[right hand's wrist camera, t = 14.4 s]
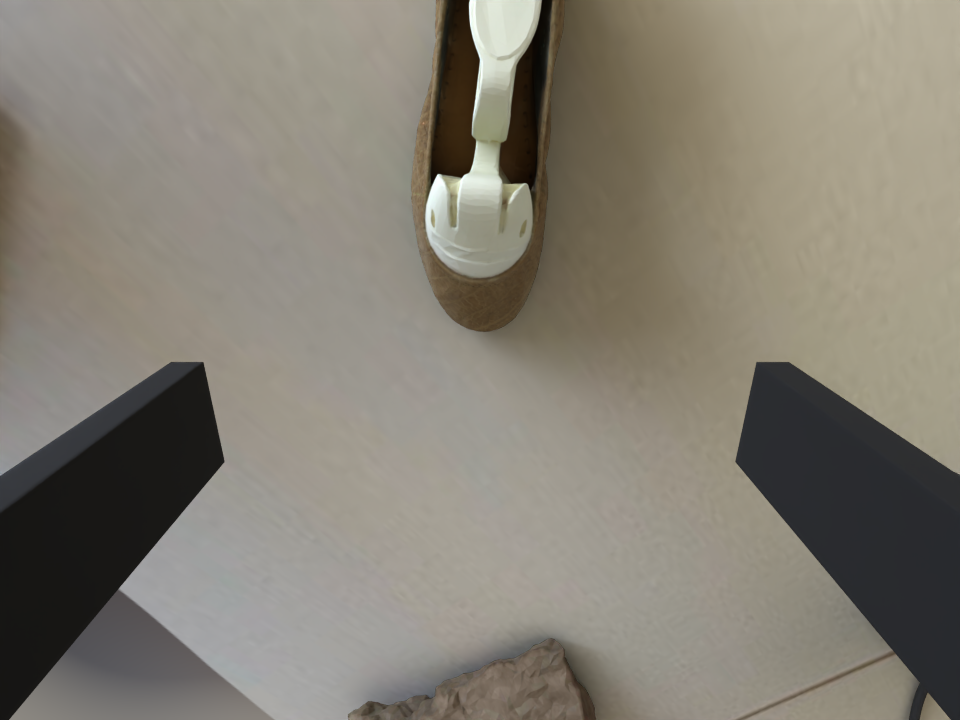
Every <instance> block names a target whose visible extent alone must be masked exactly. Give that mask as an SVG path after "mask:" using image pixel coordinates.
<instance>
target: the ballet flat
mask: <svg viewBox="0 0 960 720" xmlns="http://www.w3.org/2000/svg"><path fill="white" fill-rule="evenodd" d="M564 10H565V0H436V22H435V29H436V43H435V49H434V54H433V73H432V79H431V82H430V86H429V90H428V95H427V97H426V100H425V103H424V106H423V109H422V113H421V118H420V121H419V125H418V129H417V139H416V147H415V155H414V161H413V173H412V183H411V190H412V197H411V200H412V206H413V218H414V223H415V229H416V235H417V242H418V247H419V251H420V255H421V258H422V262H423V265H424V268H425V271H426V274H427V277H428V279H429V282H430V284H431V286H432V289H433V292H434V294H435V296H436V298H437V299H438V301H439V303H440V304H441V306H442V307H443V309H444V310H445V311H446V313H447V314H448V315H449V316H450V317H451V318H452V319H453V320H454V321H455V322H457V323H458V324H460V325H462V326H464V327H466V328H468V329H471V330H475V331H483V332H486V331H493V330H496V329H499V328H501V327H503V326H505V325H506V324H508V323H509V322H510V321H512V320H513V319H514V318H515V317H516V315H517V314H518V313H519V311H520V310H521V308H522V307H523V305H524V303H525V301H526V299H527V297H528V295H529V292H530V290H531V287H532V284H533V282H534V279H535V276H536V272H537V269H538V265H539V260H540V255H541V251H542V245H543V235H544V226H545V216H546V204H547V198H548V182H547V174H546V166H545V161H546V158H547V153H548V148H549V141H550V130H551V103H550V97H551V88H552V85H553V72H554V64H555V59H556V55H557V52H558V48H559V44H560V41H561V37H562V32H563V25H564Z"/></svg>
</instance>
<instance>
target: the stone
mask: <svg viewBox="0 0 960 720" xmlns="http://www.w3.org/2000/svg"><path fill="white" fill-rule="evenodd" d="M564 656H565V651H564V649H563V647H562V646H561V645H560V644H559V643H558V642H556V641H555V640H554V639H551V638H550V639H547V640H545V641H544V642H542V643H540V644H537V645H534V646H533V647H532V648H531V649H530V650H528V651H527V652H525V653H523V654H521V655H519V656H518V657H516V658H512V659H507V660H503V659H499V660H496V661H493V662H491V663H490V664H489V665H485V666H483V667H482V668H481V669H480V670H477V671H474V672H471V673H463V674H462V675H460V676H458V677H456V678H453V679H449V680H446V681H444V682H443V683H442V684H441V685H439V686H437V687H436V691H435V697H433V698H431V699H430V698H429V697H428V696H427V695H423V696H414V697H411V698H409V699H408V700H407V701H401V702H397V703H395V704H393V705H384V704H380V703H378V702H372V701H368V702H367V703H366V704H364V705H363V706H362V707H360V708H359V709H357V710H354V711H352V712H351V713H350V714H348V720H596V718H595V709H594V705H593V703H592V701H591V698H590V697H589V694H588V692H587V691H586V689H585V688H584V687H583V686H582V685H580V684H579V683H578V682H577V680H576V678H575V676H574V674H573V672H572V670H571V668H570V666H569V664H568V662H567V660H566V658H565V657H564Z"/></svg>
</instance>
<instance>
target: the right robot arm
mask: <svg viewBox="0 0 960 720" xmlns="http://www.w3.org/2000/svg"><path fill="white" fill-rule="evenodd" d="M223 463H224V457H223V452H222V447H221V443H220V438H219V433H218V429H217V424H216V419H215V415H214V410H213V405H212V400H211V396H210V391H209V386H208V382H207V377H206V372H205V368H204V363H203V362H171V363H169V364H168V365H166V366H165V367H163V368H162V369H160V370H159V371H157V372H156V373H154V374H153V375H151V376H150V377H148V378H147V379H145V380H144V381H142V382H141V383H139V384H138V385H136V386H135V387H133V388H132V389H130V390H129V391H127V392H126V393H124V394H123V395H121V396H120V397H118V398H117V399H115V400H114V401H112V402H111V403H109V404H108V405H106V406H105V407H103V408H102V409H100V410H99V411H97V412H96V413H94V414H93V415H91V416H90V417H88V418H87V419H85V420H84V421H82V422H81V423H79V424H78V425H76V426H75V427H73V428H72V429H70V430H69V431H67V432H66V433H64V434H63V435H61V436H60V437H58V438H57V439H55V440H54V441H52V442H51V443H49V444H48V445H46V446H45V447H43V448H42V449H40V450H39V451H37V452H36V453H34V454H33V455H31V456H30V457H28V458H27V459H25V460H24V461H22V462H21V463H19V464H18V465H16V466H15V467H13V468H12V469H10V470H9V471H7V472H6V473H4V474H3V475H1V476H0V720H9V719H10V718H11V717H12V715H13V714H14V713H15V712H16V711H17V709H18V708H19V707H20V706H21V705H22V704H23V702H24V701H25V700H26V699H27V698H28V696H29V695H30V694H31V693H32V692H33V690H34V689H35V688H36V687H37V686H38V684H39V683H40V682H41V681H42V680H43V678H44V677H45V676H46V675H47V674H48V672H49V671H50V670H51V669H52V668H53V666H54V665H55V664H56V663H57V662H58V660H59V659H60V658H61V657H62V656H63V654H64V653H65V652H66V651H67V650H68V648H69V647H70V646H71V645H72V644H73V643H74V641H75V640H76V639H77V638H78V637H79V635H80V634H81V633H82V632H83V631H84V629H85V628H86V627H87V626H88V625H89V623H90V622H91V621H92V620H93V619H94V617H95V616H96V615H97V614H98V613H99V611H100V610H101V609H102V608H103V607H104V605H105V604H106V603H107V602H108V601H109V599H110V598H111V597H112V596H113V595H114V593H115V592H116V591H117V590H118V589H119V588H120V586H121V585H122V584H123V583H124V582H125V580H126V579H127V578H128V577H129V576H130V574H131V573H132V572H133V571H134V570H135V568H136V567H137V566H138V565H139V564H140V562H141V561H142V560H143V559H144V558H145V556H146V555H147V554H148V553H149V552H150V550H151V549H152V548H153V547H154V546H155V544H156V543H157V542H158V541H159V540H160V538H161V537H162V536H163V535H164V534H165V532H166V531H167V530H168V529H169V528H170V526H171V525H172V524H173V523H174V522H175V521H176V519H177V518H178V517H179V516H180V515H181V513H182V512H183V511H184V510H185V509H186V507H187V506H188V505H189V504H190V503H191V501H192V500H193V499H194V498H195V497H196V495H197V494H198V493H199V492H200V491H201V489H202V488H203V487H204V486H205V485H206V483H207V482H208V481H209V480H210V479H211V477H212V476H213V475H214V474H215V473H216V471H217V470H218V469H219V468H220V467H221V465H222V464H223ZM736 463H737V464H738V465H739V467H740V468H741V469H742V470H743V471H744V473H745V474H746V475H747V476H748V477H749V479H750V480H751V481H752V482H753V483H754V485H755V486H756V487H757V488H758V489H759V491H760V492H761V493H762V494H763V495H764V497H765V498H766V499H767V500H768V501H769V503H770V504H771V505H772V506H773V507H774V509H775V510H776V511H777V512H778V513H779V515H780V516H781V517H782V518H783V519H784V521H785V522H786V523H787V524H788V525H789V526H790V528H791V529H792V530H793V531H794V532H795V534H796V535H797V536H798V537H799V538H800V540H801V541H802V542H803V543H804V544H805V546H806V547H807V548H808V549H809V550H810V552H811V553H812V554H813V555H814V556H815V558H816V559H817V560H818V561H819V562H820V564H821V565H822V566H823V567H824V568H825V570H826V571H827V572H828V573H829V574H830V576H831V577H832V578H833V579H834V580H835V582H836V583H837V584H838V585H839V586H840V588H841V589H842V590H843V591H844V592H845V593H846V595H847V596H848V597H849V598H850V599H851V601H852V602H853V603H854V604H855V605H856V607H857V608H858V609H859V610H860V611H861V613H862V614H863V615H864V616H865V617H866V619H867V620H868V621H869V622H870V623H871V625H872V626H873V627H874V628H875V629H876V631H877V632H878V633H879V634H880V635H881V637H882V638H883V639H884V640H885V641H886V643H887V644H888V645H889V646H890V647H891V649H892V650H893V651H894V652H895V653H896V655H897V656H898V657H899V658H900V659H901V660H902V662H903V663H904V664H905V665H906V666H907V668H908V669H909V670H910V671H911V672H912V674H913V675H914V676H915V677H916V678H917V680H918V681H919V682H920V684H919V686H918V689H917V691H916V694H915V697H914V700H913V703H912V707H911V712H910V717H909V720H920V715H921V710H922V707H923V703H924V700H925V698H926V695H927V693H929V694H930V695H931V696H932V698H933V699H934V700H935V701H936V702H937V704H938V705H939V706H940V707H941V708H942V710H943V711H944V712H945V713H946V714H947V716H948V717H949V718H950V719H951V720H960V475H959V474H957V473H955V472H953V471H951V470H950V469H948V468H947V467H945V466H944V465H942V464H941V463H939V462H938V461H936V460H935V459H933V458H932V457H930V456H929V455H927V454H926V453H924V452H923V451H921V450H920V449H918V448H917V447H915V446H914V445H912V444H911V443H909V442H908V441H906V440H905V439H903V438H902V437H900V436H899V435H897V434H896V433H894V432H893V431H891V430H890V429H888V428H887V427H885V426H884V425H882V424H881V423H879V422H878V421H876V420H875V419H873V418H872V417H870V416H869V415H867V414H866V413H864V412H863V411H861V410H860V409H858V408H857V407H855V406H854V405H852V404H851V403H849V402H848V401H846V400H845V399H843V398H842V397H840V396H839V395H837V394H836V393H834V392H833V391H831V390H830V389H828V388H827V387H825V386H824V385H822V384H821V383H819V382H818V381H816V380H815V379H813V378H812V377H810V376H809V375H807V374H806V373H804V372H803V371H801V370H800V369H798V368H797V367H795V366H794V365H792V364H791V363H789V362H757V363H756V368H755V372H754V377H753V382H752V386H751V391H750V396H749V400H748V405H747V410H746V415H745V419H744V424H743V429H742V433H741V438H740V443H739V447H738V452H737V457H736Z"/></svg>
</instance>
